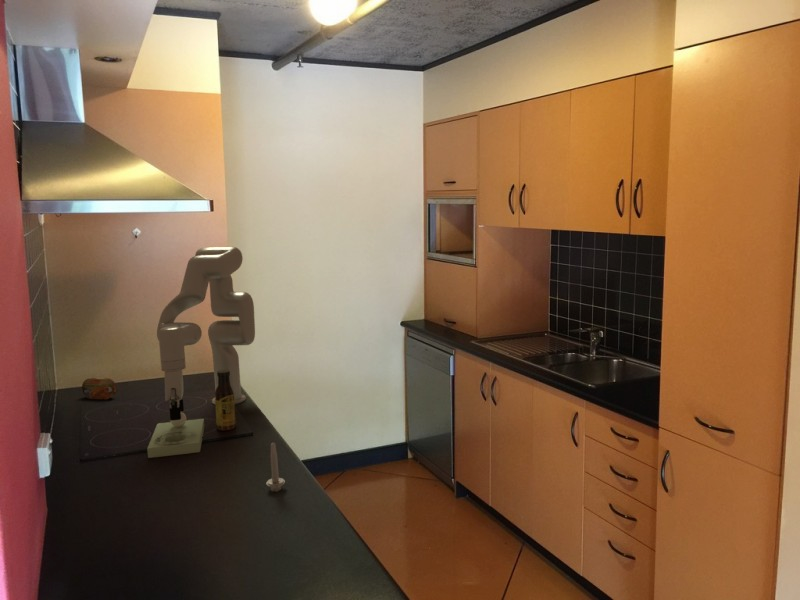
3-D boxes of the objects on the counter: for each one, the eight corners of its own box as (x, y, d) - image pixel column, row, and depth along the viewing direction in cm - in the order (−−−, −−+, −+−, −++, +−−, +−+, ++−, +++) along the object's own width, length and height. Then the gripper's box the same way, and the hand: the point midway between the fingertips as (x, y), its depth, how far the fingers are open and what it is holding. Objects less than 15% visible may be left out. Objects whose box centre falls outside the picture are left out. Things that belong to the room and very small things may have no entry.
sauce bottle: (224, 433, 217) (220, 374, 214) (213, 429, 220) (208, 372, 218) (240, 427, 222) (236, 370, 219) (228, 424, 226) (224, 368, 223)
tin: (82, 398, 265) (80, 378, 263) (88, 396, 268) (86, 376, 266) (113, 400, 260) (111, 379, 259) (118, 398, 263) (116, 377, 262)
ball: (172, 425, 217) (170, 410, 217) (187, 423, 218) (186, 409, 218) (170, 429, 213) (168, 415, 212) (186, 428, 214) (185, 413, 213)
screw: (268, 495, 168) (265, 487, 173) (287, 491, 170) (283, 484, 174) (265, 446, 166) (262, 440, 171) (283, 443, 168) (280, 437, 172)
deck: (158, 432, 220) (157, 423, 220) (204, 427, 223) (203, 418, 223) (148, 458, 197) (147, 448, 196) (199, 452, 200) (199, 442, 200)
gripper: (164, 360, 220) (168, 409, 222) (157, 371, 203) (162, 424, 205) (187, 358, 221) (191, 407, 224) (182, 369, 205) (186, 422, 207)
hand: (177, 415), depth 214 cm, fingers open, 9 cm apart
